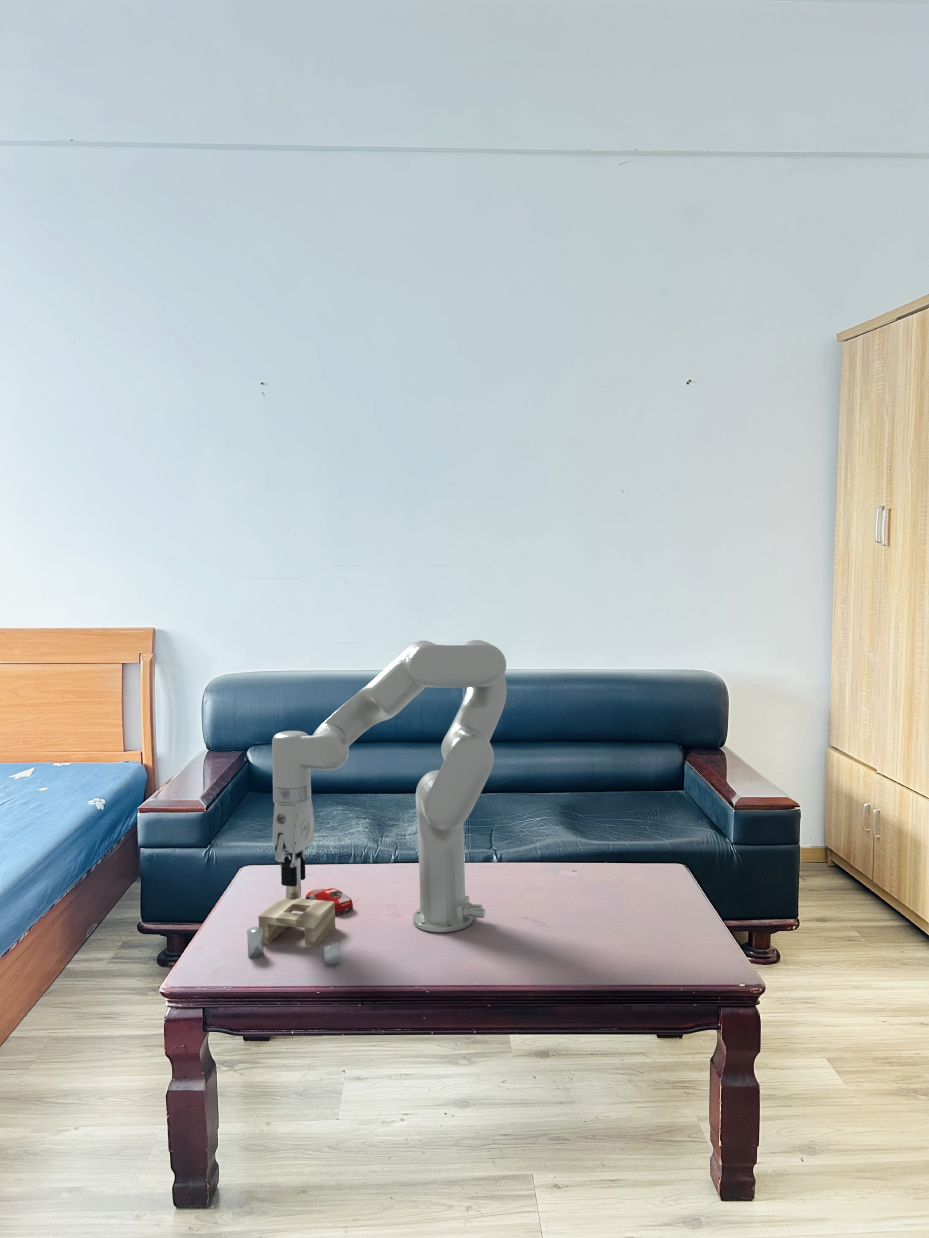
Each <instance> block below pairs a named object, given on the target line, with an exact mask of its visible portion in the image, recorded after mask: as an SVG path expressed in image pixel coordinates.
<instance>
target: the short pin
mask: <svg viewBox="0 0 929 1238" xmlns="http://www.w3.org/2000/svg"><path fill="white" fill-rule="evenodd" d="M340 947H341V946H340V943H339V942H336V941H335V942H334V941H330V942H326V943H324V944H323V965H324V966H325V967H327V968H334V967H338V966H339V965H340V964H341V951H340V950H341V949H340Z"/></svg>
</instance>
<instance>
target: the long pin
mask: <svg viewBox="0 0 929 1238" xmlns="http://www.w3.org/2000/svg"><path fill="white" fill-rule="evenodd" d="M288 857H289V859H290V855H288ZM295 866H297V885H296V886H295V887H292V886H285V897H286V898H287V899H289V900H295V899H301V898H302V880H301V865H300V857H299V856H295Z"/></svg>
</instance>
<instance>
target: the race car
mask: <svg viewBox="0 0 929 1238" xmlns="http://www.w3.org/2000/svg"><path fill="white" fill-rule="evenodd" d="M304 899H310V900H321V901H333V902H334V904H335V916H336V915H343V914H345V913H347V912H350V911H352V910H353V909H354V905H353V901H352V898H351V897H350V896H348V895H347V894H346V893H344V892H342V891H341V890H339V889H337V888H334V887H331V888H319V889H316V888H315V889H313V890H311V891H308V892H307V894H306V895H305V898H304Z"/></svg>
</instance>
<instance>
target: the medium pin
mask: <svg viewBox="0 0 929 1238" xmlns="http://www.w3.org/2000/svg"><path fill="white" fill-rule="evenodd" d="M246 933H247V934H246V937H247V940H246V941H247V957H248V958H249V959H252V958H253V959H254V958H256V959H260V958H261V957H264V956H265V949H264V947H265V943H264V941H263V928H262V927H259V926H253V927H250V928H248V929H247V930H246ZM253 959H252V960H253ZM254 960H255V959H254Z"/></svg>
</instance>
